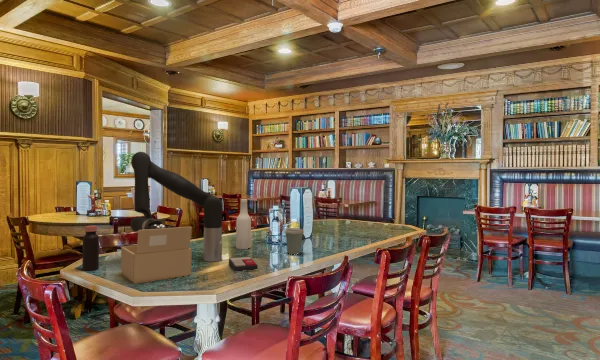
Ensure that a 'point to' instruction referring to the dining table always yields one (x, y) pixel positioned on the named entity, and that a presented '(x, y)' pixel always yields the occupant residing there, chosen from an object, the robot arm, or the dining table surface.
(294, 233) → the disposable coffee cup
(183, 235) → the carton flap
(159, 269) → the carton
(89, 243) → the bottle
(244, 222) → the alcohol
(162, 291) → the dining table surface
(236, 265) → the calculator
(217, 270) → the dining table surface
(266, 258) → the dining table surface
